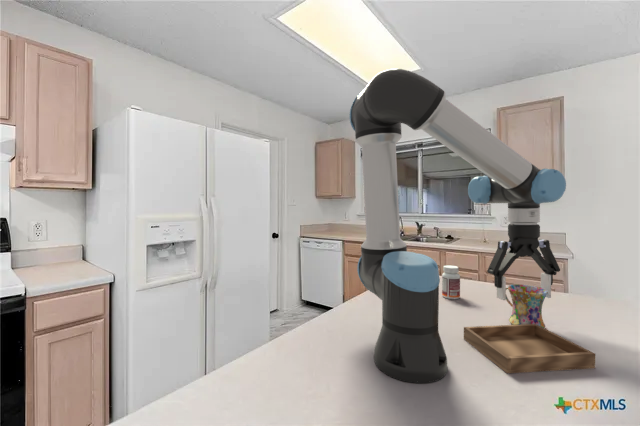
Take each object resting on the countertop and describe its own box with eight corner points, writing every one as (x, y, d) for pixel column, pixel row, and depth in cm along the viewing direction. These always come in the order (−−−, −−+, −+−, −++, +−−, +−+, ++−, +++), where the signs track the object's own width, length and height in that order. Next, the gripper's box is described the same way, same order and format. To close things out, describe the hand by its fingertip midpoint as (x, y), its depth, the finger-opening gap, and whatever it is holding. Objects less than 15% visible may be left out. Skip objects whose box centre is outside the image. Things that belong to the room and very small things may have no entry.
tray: (507, 373, 61) (507, 358, 61) (463, 339, 76) (463, 327, 76) (595, 368, 62) (595, 353, 62) (535, 335, 78) (535, 323, 78)
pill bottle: (462, 297, 111) (462, 266, 110) (456, 300, 106) (456, 269, 106) (446, 293, 115) (446, 264, 115) (439, 297, 111) (439, 266, 110)
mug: (555, 330, 81) (556, 292, 81) (529, 335, 78) (530, 295, 78) (515, 315, 92) (515, 281, 92) (491, 318, 90) (492, 283, 89)
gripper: (490, 225, 80) (491, 304, 80) (576, 222, 82) (576, 299, 83) (473, 223, 87) (474, 295, 88) (552, 221, 89) (552, 291, 90)
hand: (523, 297), depth 85 cm, fingers open, 13 cm apart
